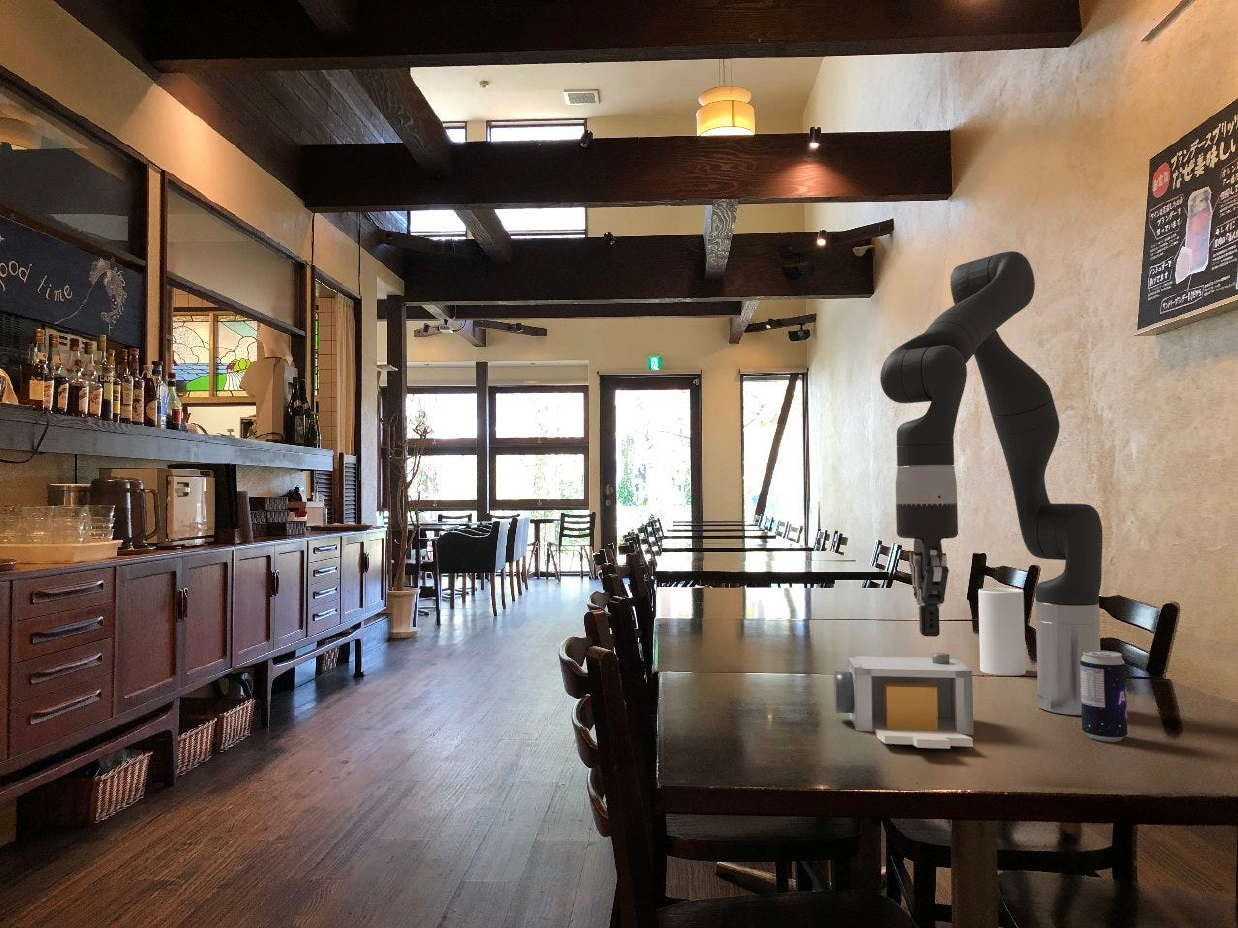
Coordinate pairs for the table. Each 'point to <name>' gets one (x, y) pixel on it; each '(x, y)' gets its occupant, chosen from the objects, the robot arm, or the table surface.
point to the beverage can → (1103, 695)
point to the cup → (1002, 631)
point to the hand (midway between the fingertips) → (929, 635)
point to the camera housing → (906, 693)
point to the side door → (924, 738)
